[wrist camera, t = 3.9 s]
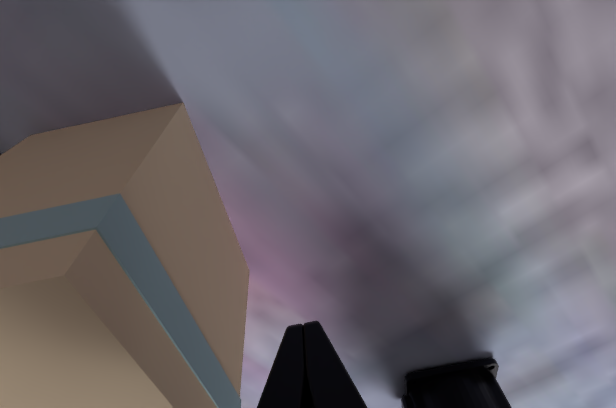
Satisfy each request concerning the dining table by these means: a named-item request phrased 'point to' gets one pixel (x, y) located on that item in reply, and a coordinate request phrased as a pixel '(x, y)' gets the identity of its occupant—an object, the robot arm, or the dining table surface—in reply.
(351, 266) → the dining table surface
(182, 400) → the carton
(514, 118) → the dining table surface
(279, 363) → the robot arm
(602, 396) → the dining table surface
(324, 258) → the dining table surface
